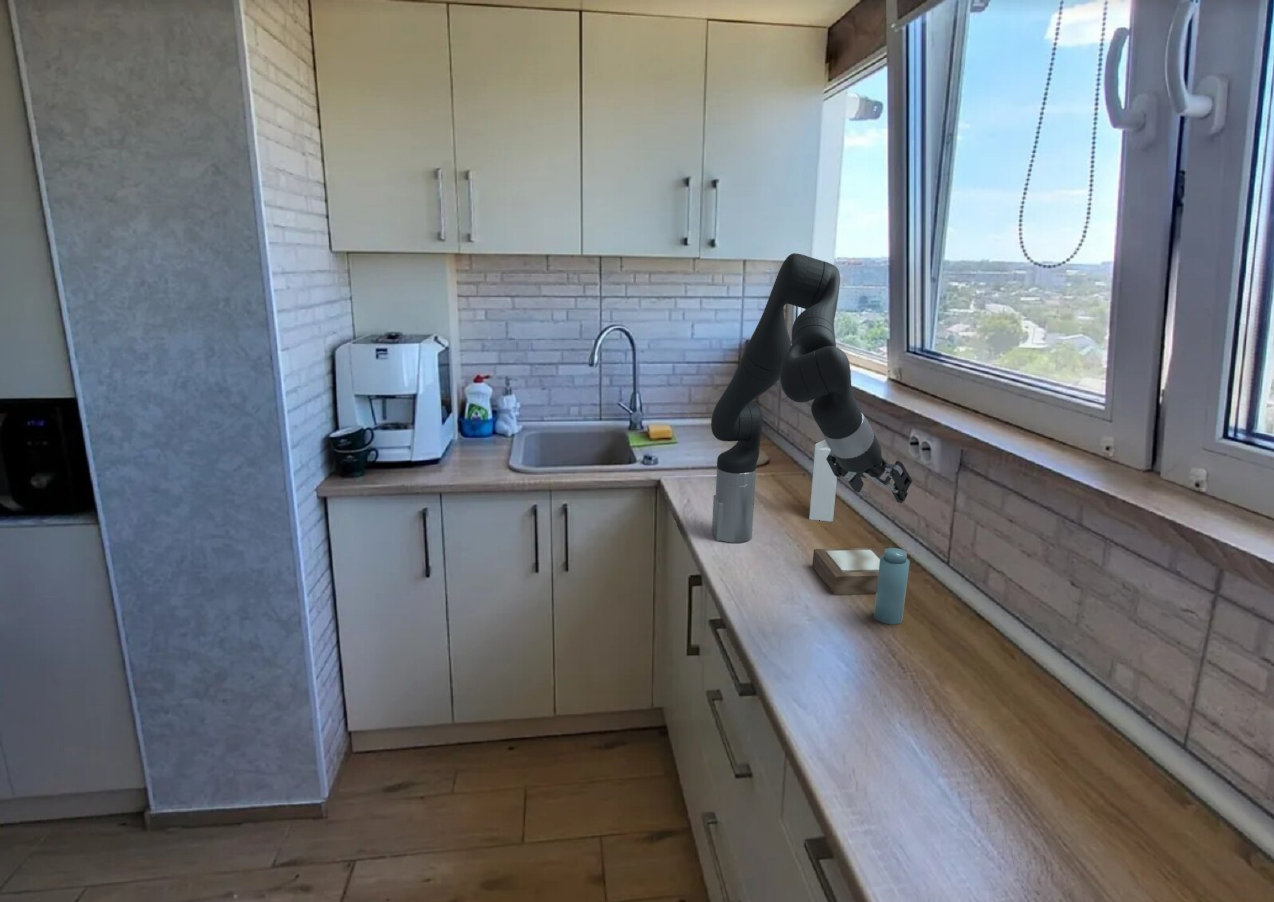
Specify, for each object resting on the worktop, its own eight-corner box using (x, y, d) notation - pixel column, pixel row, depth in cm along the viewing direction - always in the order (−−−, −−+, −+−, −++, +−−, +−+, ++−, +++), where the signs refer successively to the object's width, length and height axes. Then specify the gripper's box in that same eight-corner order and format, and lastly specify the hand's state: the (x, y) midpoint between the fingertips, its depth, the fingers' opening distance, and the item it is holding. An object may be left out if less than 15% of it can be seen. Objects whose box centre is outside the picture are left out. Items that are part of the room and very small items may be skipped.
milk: (809, 519, 190) (815, 437, 184) (809, 512, 196) (815, 431, 190) (833, 522, 189) (840, 439, 183) (833, 514, 194) (840, 433, 188)
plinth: (834, 594, 149) (836, 574, 148) (812, 565, 162) (814, 547, 161) (900, 592, 150) (903, 573, 149) (873, 564, 164) (875, 546, 162)
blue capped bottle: (880, 624, 137) (887, 558, 134) (869, 611, 142) (876, 546, 139) (907, 624, 138) (915, 557, 134) (895, 610, 143) (903, 546, 139)
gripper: (899, 428, 119) (926, 485, 130) (825, 415, 130) (855, 469, 140) (879, 465, 117) (908, 520, 127) (805, 449, 128) (837, 500, 138)
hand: (880, 493), depth 134 cm, fingers open, 8 cm apart
